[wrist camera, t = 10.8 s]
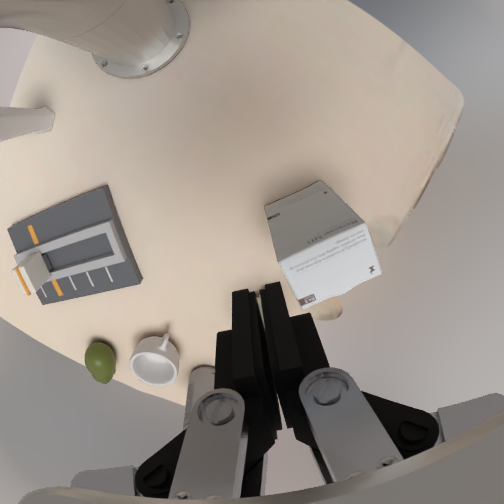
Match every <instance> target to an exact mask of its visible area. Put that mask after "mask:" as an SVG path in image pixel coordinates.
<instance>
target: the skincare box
mask: <svg viewBox="0 0 504 504" xmlns="http://www.w3.org/2000/svg"><path fill="white" fill-rule="evenodd" d="M265 212H266V215H267V220H268V224H269V228H270V232H271V236H272V241H273V246H274V249H275V253H276V257H277V261H278V264H279V265H280V267H281V269H282V271H283V273H284V275H285V277H286V279H287V281H288V283H289V285H290V287H291V289H292V291H293V293H294V295H295V297H296V299H297V301H298V303H299V305H300V307H301V309H302V310H304V309H306V308H308V307H310V306H312V305H314V304H316V303H319V302H321V301H323V300H325V299H328V298H330V297H334V296H339V295H341V294H344V293H346V292H348V291H349V290H350V289H351V288H353V287H354V286H356V285H358V284H360V283H362V282H365V281H367V280H369V279H371V278H373V277H376V276H378V275H380V274H381V273H382V270H381V267H380V264H379V260H378V257H377V254H376V251H375V248H374V245H373V242H372V239H371V236H370V233H369V230H368V228H367V225H366V223H365V222H364V221H363V220H362V219H361V218H360V217H359V216H358V215H357V214H356V213H355V212H354V211H353V210H352V209H351V208H350V207H349V206H348V205H347V204H346V203H345V202H344V201H343V200H342V199H341V198H340V197H339V196H338V195H337V194H336V193H335V192H334V191H333V190H332V189H331V188H330V187H328V186H327V185H326V184H325V183H324V182H323V181H318V182H316V183H314V184H313V185H311V186H309V187H307V188H305V189H303V190H301V191H299V192H296V193H294V194H292V195H290V196H288V197H285V198H283V199H281V200H278V201H276V202H273V203H271V204H268V205H266V206H265Z"/></svg>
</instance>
